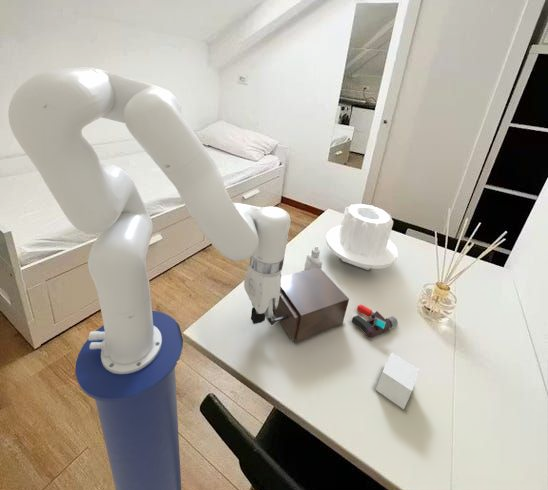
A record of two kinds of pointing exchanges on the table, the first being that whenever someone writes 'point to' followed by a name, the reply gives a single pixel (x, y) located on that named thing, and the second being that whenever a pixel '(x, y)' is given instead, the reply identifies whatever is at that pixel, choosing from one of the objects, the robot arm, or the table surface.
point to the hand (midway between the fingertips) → (257, 320)
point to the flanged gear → (363, 237)
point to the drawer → (286, 316)
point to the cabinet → (314, 302)
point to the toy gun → (373, 322)
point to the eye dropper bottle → (313, 259)
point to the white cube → (397, 380)
